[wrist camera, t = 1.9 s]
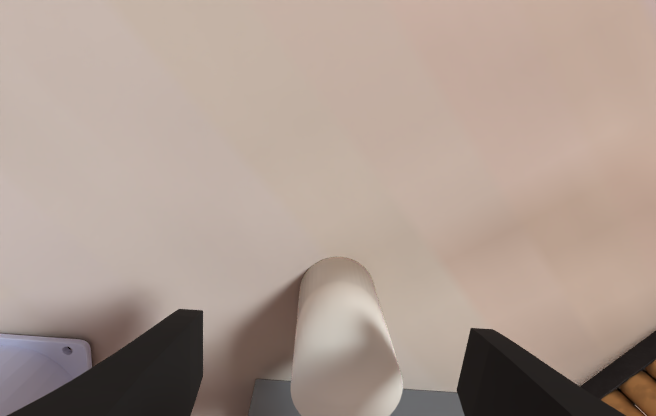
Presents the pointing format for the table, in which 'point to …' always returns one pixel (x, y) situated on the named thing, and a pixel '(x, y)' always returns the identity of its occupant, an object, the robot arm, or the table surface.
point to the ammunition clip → (629, 381)
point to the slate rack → (411, 412)
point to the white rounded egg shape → (342, 345)
